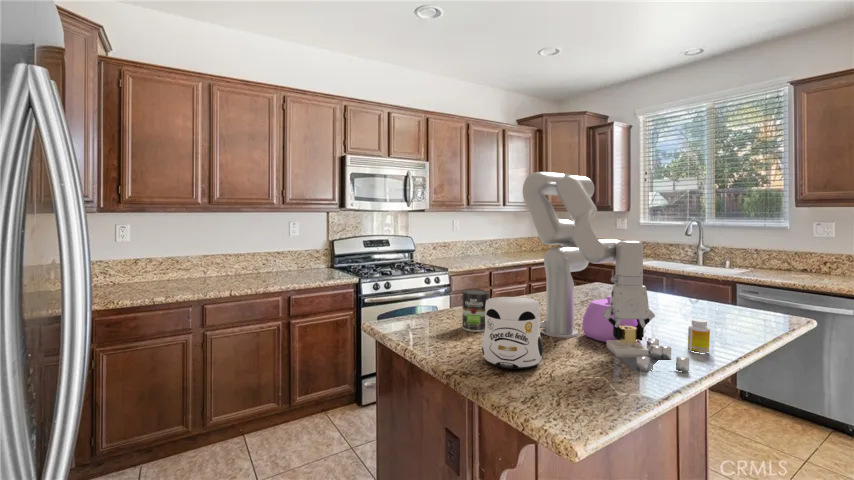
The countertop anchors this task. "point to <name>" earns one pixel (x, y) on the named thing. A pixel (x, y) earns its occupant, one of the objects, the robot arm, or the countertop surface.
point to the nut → (629, 334)
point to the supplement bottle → (698, 336)
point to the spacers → (660, 357)
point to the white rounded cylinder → (512, 333)
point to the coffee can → (474, 310)
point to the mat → (632, 362)
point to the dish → (627, 349)
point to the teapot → (601, 321)
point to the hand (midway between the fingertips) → (628, 338)
